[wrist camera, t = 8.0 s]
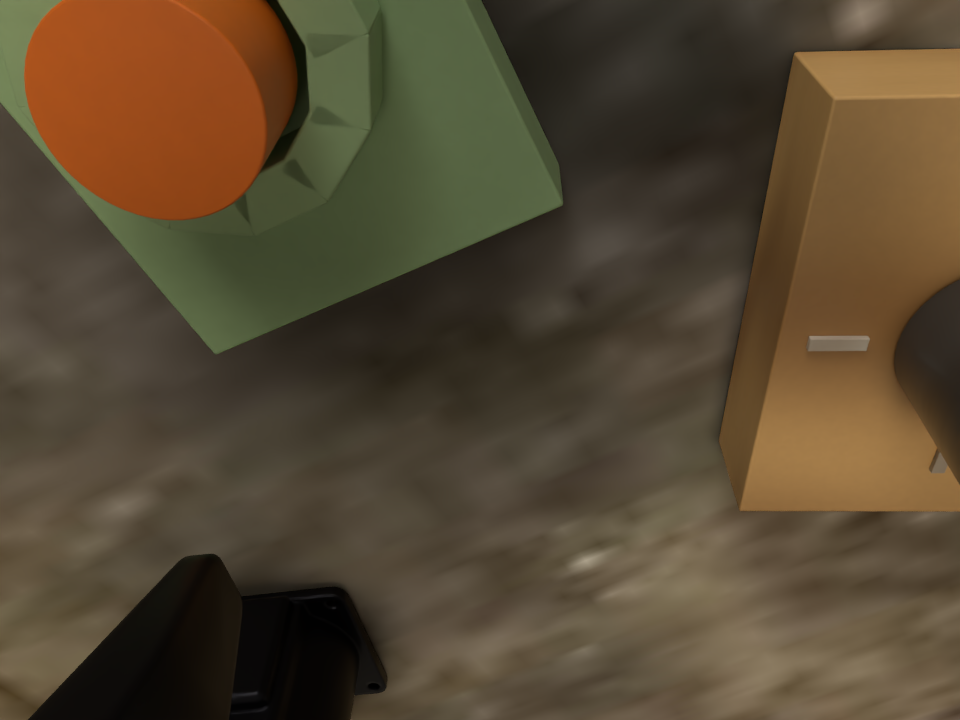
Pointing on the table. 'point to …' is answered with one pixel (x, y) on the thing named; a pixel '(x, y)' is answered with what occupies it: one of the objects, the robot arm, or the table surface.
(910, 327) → the lock dial
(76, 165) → the orange short cylinder
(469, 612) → the table surface
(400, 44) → the green flat block
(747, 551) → the table surface
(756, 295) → the board
